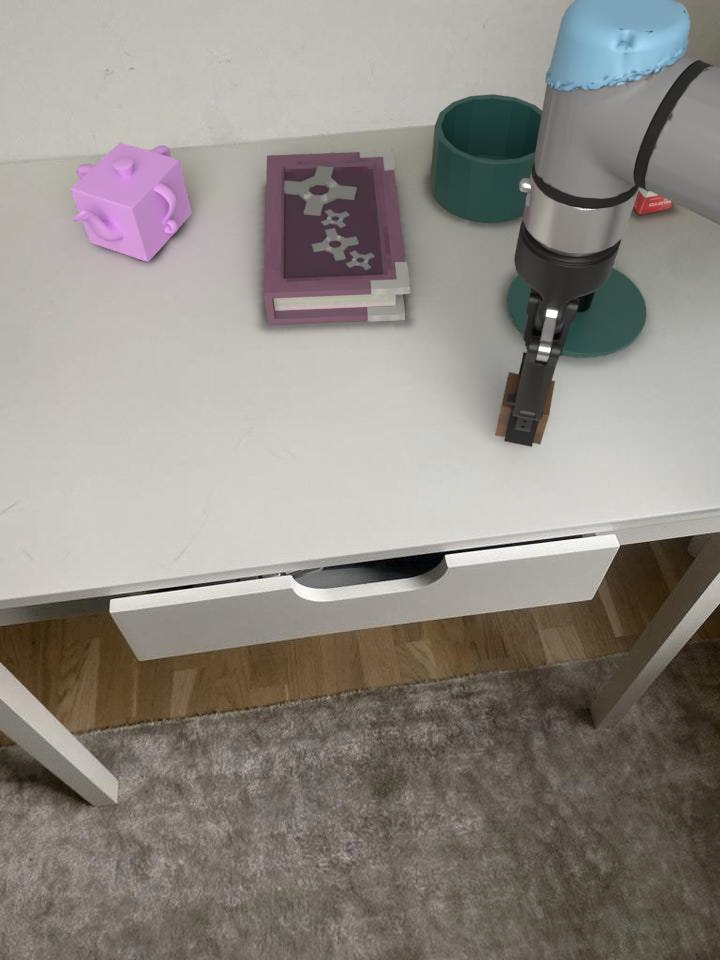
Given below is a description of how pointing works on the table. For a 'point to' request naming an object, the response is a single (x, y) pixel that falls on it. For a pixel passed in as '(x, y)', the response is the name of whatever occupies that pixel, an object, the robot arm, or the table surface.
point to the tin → (484, 156)
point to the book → (333, 239)
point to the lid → (592, 316)
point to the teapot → (132, 200)
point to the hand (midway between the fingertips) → (522, 420)
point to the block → (505, 409)
